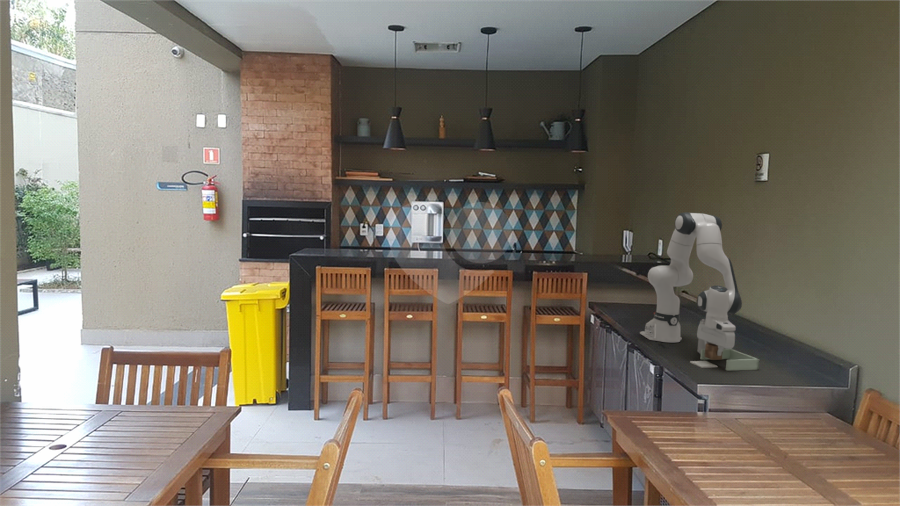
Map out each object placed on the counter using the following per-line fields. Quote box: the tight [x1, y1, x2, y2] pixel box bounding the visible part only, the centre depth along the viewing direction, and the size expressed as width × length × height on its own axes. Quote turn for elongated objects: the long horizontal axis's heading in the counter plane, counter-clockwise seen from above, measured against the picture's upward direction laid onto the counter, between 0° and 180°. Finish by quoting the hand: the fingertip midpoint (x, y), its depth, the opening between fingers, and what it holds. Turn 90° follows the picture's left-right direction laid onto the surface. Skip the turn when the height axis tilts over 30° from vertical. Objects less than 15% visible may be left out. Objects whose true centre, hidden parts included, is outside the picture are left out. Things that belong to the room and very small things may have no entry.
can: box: [696, 337, 712, 355], centre depth 279 cm, size 8×8×12 cm
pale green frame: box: [699, 348, 760, 372], centre depth 263 cm, size 18×16×4 cm
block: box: [705, 344, 723, 361], centre depth 261 cm, size 5×5×6 cm
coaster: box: [689, 360, 718, 369], centre depth 260 cm, size 8×8×1 cm
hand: (713, 353), depth 261 cm, fingers closed on block, 5 cm apart
